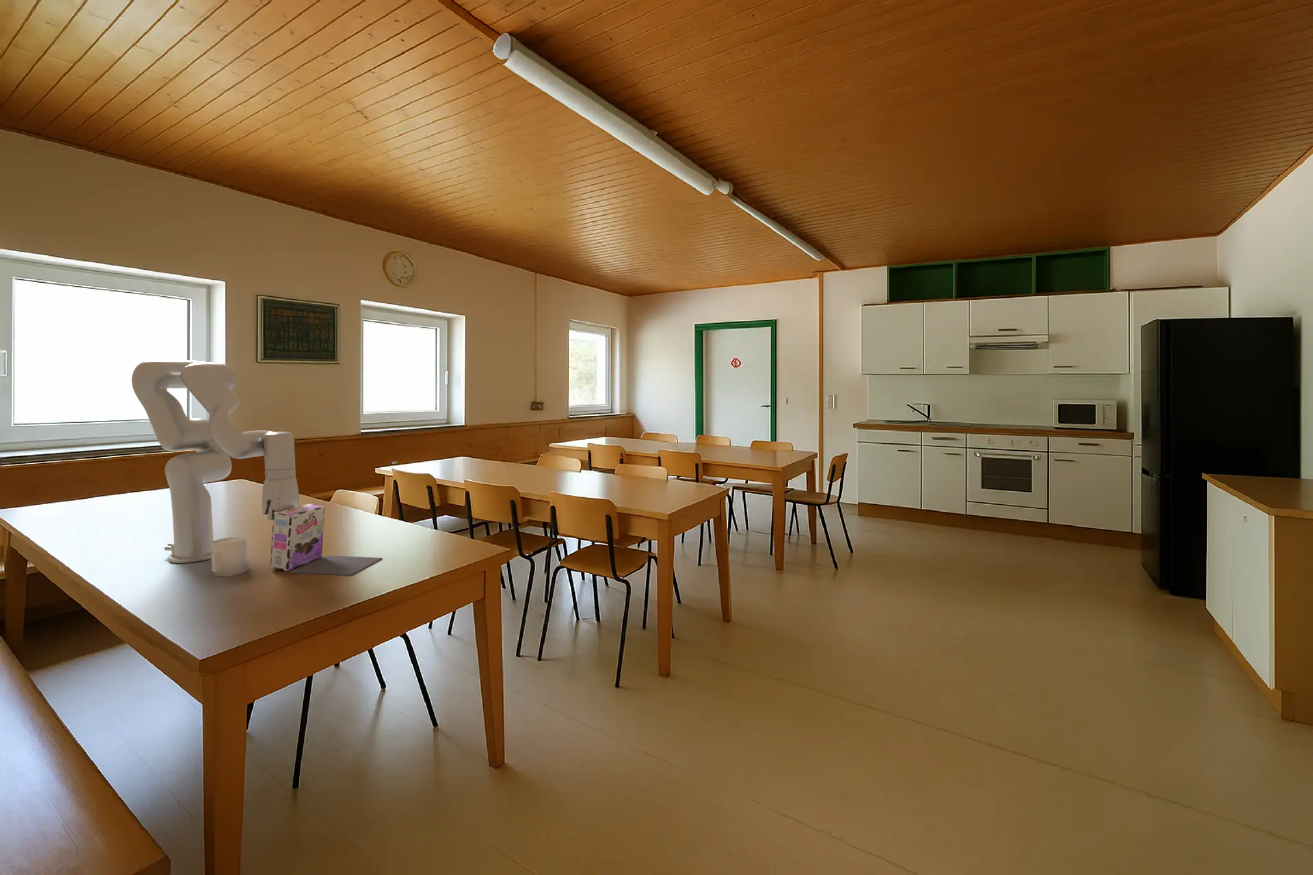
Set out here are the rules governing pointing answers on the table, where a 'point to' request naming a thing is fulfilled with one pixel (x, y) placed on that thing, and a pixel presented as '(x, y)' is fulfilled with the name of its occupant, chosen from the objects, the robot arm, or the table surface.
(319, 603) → the table surface
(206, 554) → the robot arm
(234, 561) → the mug
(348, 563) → the mat
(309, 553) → the candy box
